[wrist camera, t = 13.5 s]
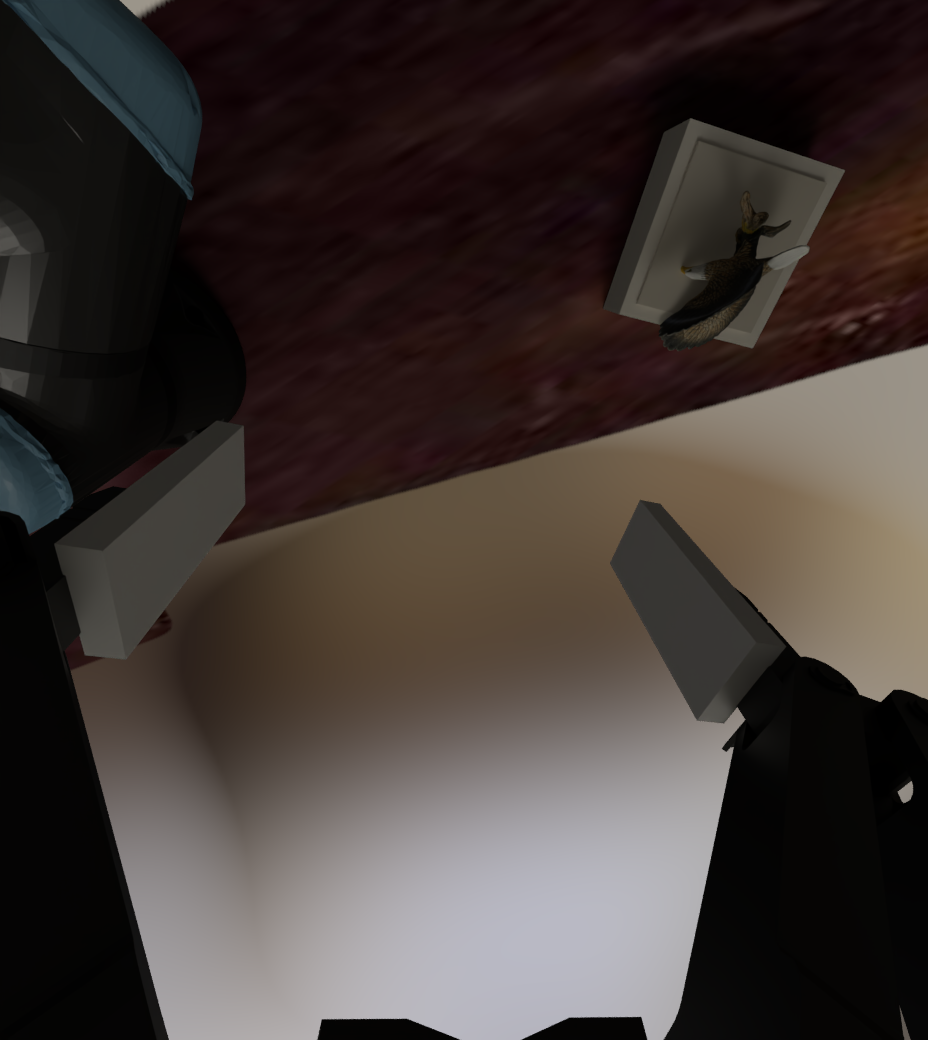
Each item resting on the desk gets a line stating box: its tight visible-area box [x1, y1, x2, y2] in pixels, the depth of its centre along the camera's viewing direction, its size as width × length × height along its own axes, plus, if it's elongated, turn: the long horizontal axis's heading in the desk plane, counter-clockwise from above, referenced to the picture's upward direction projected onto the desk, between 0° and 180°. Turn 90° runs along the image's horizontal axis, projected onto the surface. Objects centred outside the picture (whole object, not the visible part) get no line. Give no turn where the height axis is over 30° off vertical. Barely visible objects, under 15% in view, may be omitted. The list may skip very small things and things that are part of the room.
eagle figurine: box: [659, 191, 810, 351], centre depth 32 cm, size 8×7×9 cm
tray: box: [603, 118, 845, 348], centre depth 35 cm, size 12×12×4 cm
